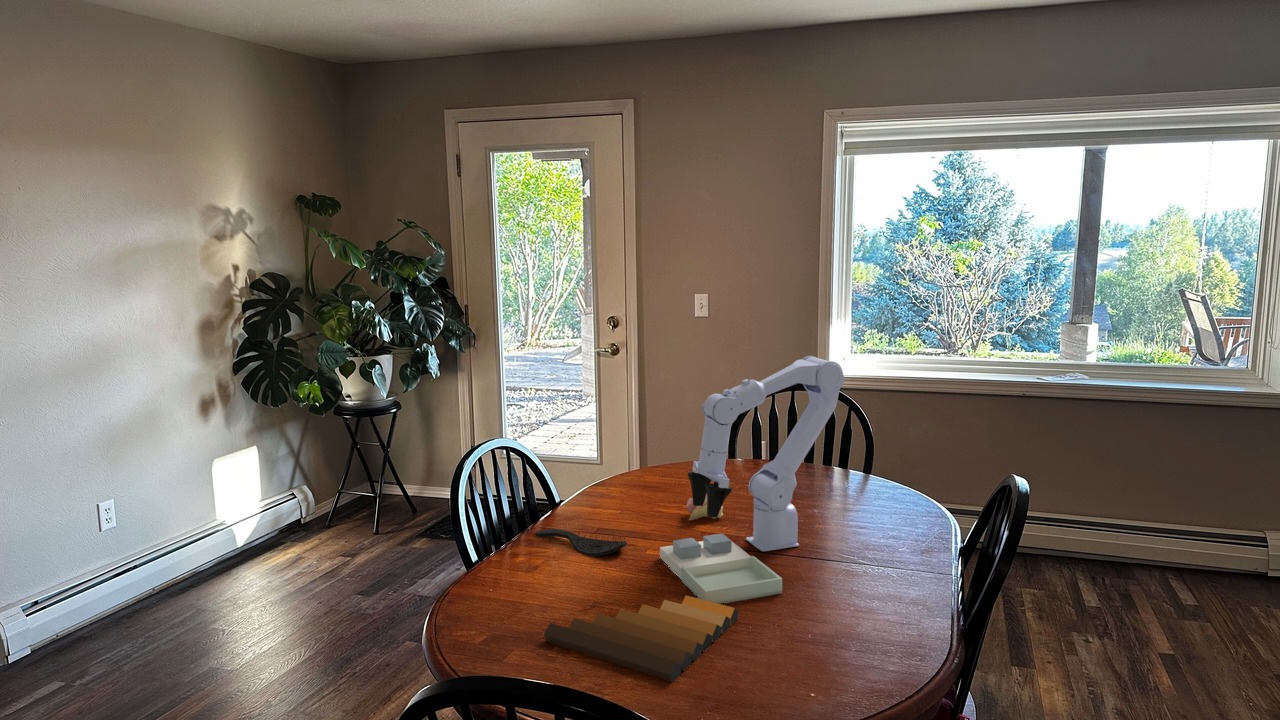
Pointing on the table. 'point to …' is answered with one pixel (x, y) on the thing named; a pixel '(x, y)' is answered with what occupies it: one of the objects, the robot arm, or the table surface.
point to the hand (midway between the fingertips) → (704, 511)
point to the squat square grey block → (717, 544)
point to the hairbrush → (586, 542)
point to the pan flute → (649, 635)
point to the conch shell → (700, 510)
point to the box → (734, 583)
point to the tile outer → (687, 548)
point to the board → (707, 561)
